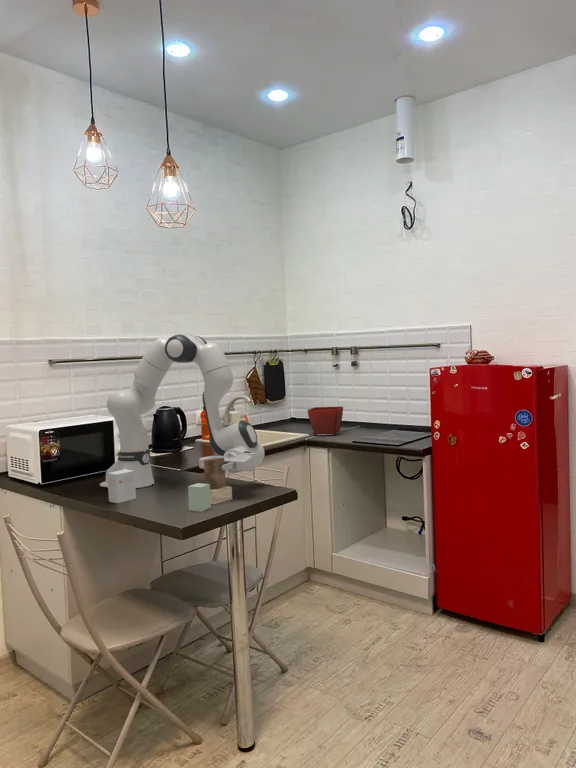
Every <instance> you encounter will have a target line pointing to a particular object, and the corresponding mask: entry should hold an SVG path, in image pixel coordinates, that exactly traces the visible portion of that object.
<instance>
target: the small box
mask: <svg viewBox="0 0 576 768" xmlns="http://www.w3.org/2000/svg"><path fill="white" fill-rule="evenodd" d="M107 477H108V488H107V490H108V501H109V502H110V503H114V504H120V503H125V502H128V501H133V500H136V499H137V490H136V489H137V488H135V472H134V470H127V469H124V470H119V471H115V472H110V473H107Z"/></svg>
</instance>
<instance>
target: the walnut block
mask: <svg viewBox="0 0 576 768" xmlns="http://www.w3.org/2000/svg"><path fill="white" fill-rule="evenodd" d="M222 464H224V458H214V457H212V458H208V459H205V460H204V469H203V471H204V484H210V489H220V488H222V487H225V486H227V485H226V470H220V465H222Z"/></svg>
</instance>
